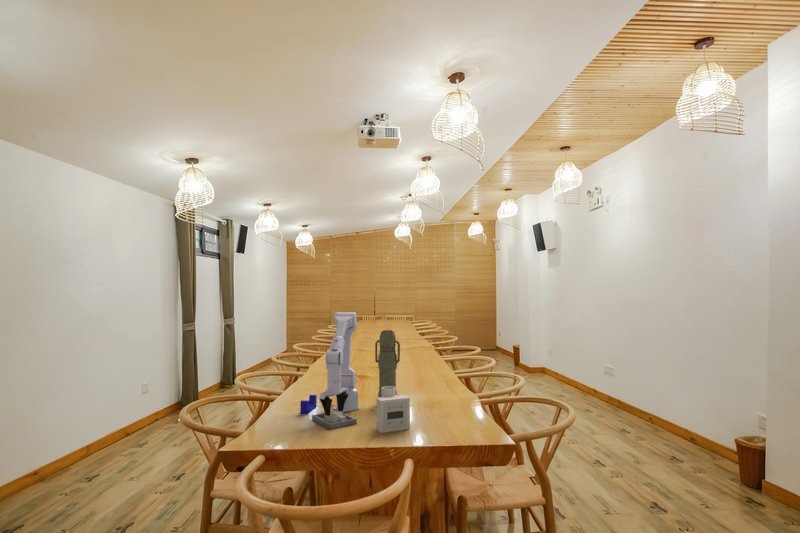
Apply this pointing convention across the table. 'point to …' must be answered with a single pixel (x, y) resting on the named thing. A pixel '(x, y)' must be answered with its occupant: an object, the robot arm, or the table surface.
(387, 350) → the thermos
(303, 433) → the table surface
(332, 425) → the tray
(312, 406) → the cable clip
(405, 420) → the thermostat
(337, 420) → the connector
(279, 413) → the table surface
